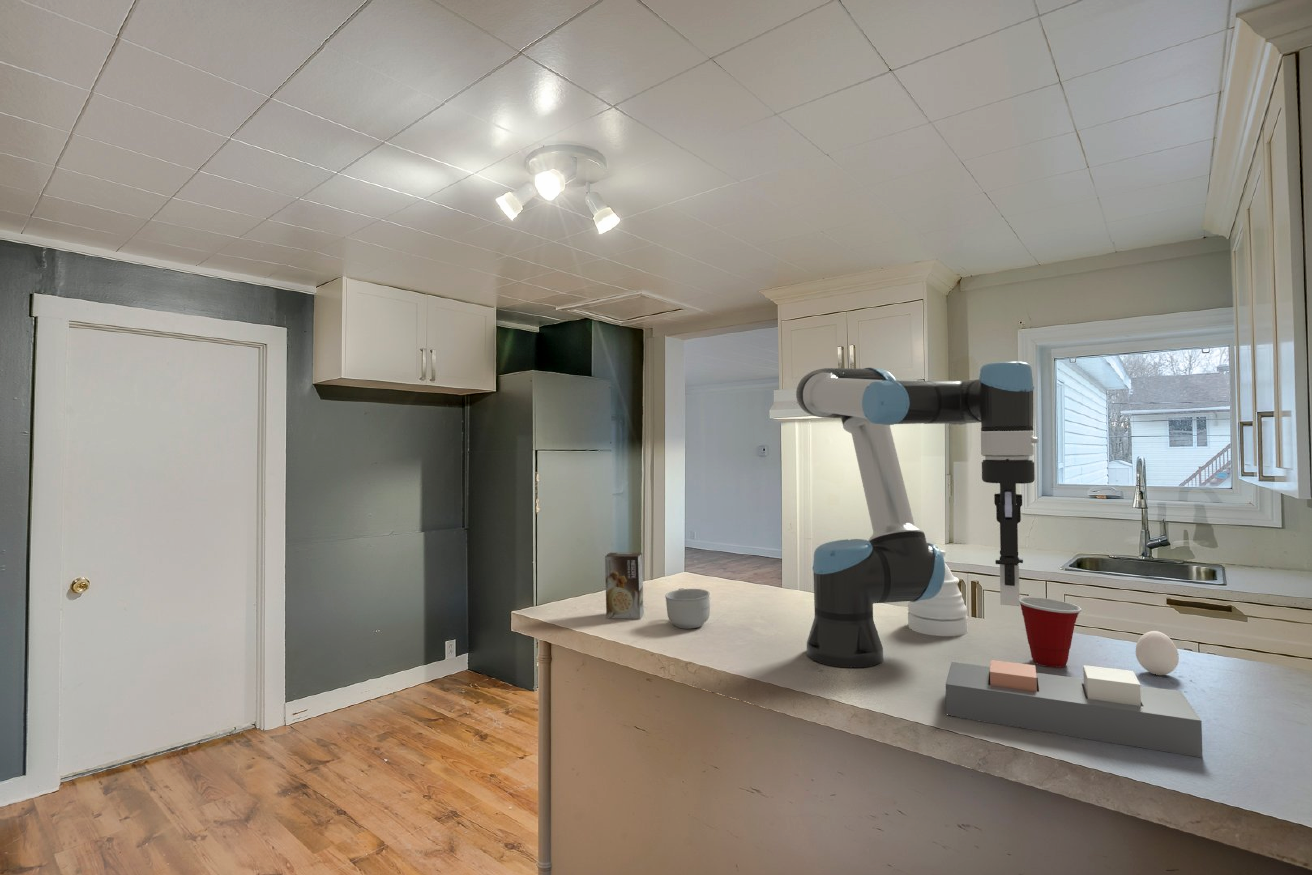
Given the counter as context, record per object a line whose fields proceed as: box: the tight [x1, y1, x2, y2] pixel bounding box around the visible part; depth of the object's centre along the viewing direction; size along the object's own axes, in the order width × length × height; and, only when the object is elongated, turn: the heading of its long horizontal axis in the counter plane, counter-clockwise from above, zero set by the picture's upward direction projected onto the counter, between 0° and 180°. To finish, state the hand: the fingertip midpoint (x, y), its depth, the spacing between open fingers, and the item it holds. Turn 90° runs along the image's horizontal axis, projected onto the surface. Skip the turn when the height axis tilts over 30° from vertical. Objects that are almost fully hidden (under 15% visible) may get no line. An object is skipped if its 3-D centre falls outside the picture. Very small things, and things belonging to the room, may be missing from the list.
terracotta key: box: [989, 659, 1037, 692], centre depth 105 cm, size 6×6×4 cm
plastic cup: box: [1019, 596, 1082, 668], centre depth 128 cm, size 11×11×12 cm
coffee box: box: [604, 552, 645, 620], centre depth 170 cm, size 9×6×16 cm
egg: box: [1135, 630, 1180, 676], centre depth 121 cm, size 6×6×8 cm
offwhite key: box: [1082, 664, 1141, 706], centre depth 99 cm, size 6×6×4 cm
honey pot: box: [907, 549, 969, 637], centre depth 154 cm, size 13×13×18 cm
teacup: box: [664, 587, 711, 630], centre depth 161 cm, size 14×11×8 cm
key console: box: [945, 661, 1204, 758], centre depth 102 cm, size 32×12×5 cm, turn 62°
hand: (1010, 604), depth 106 cm, fingers closed
